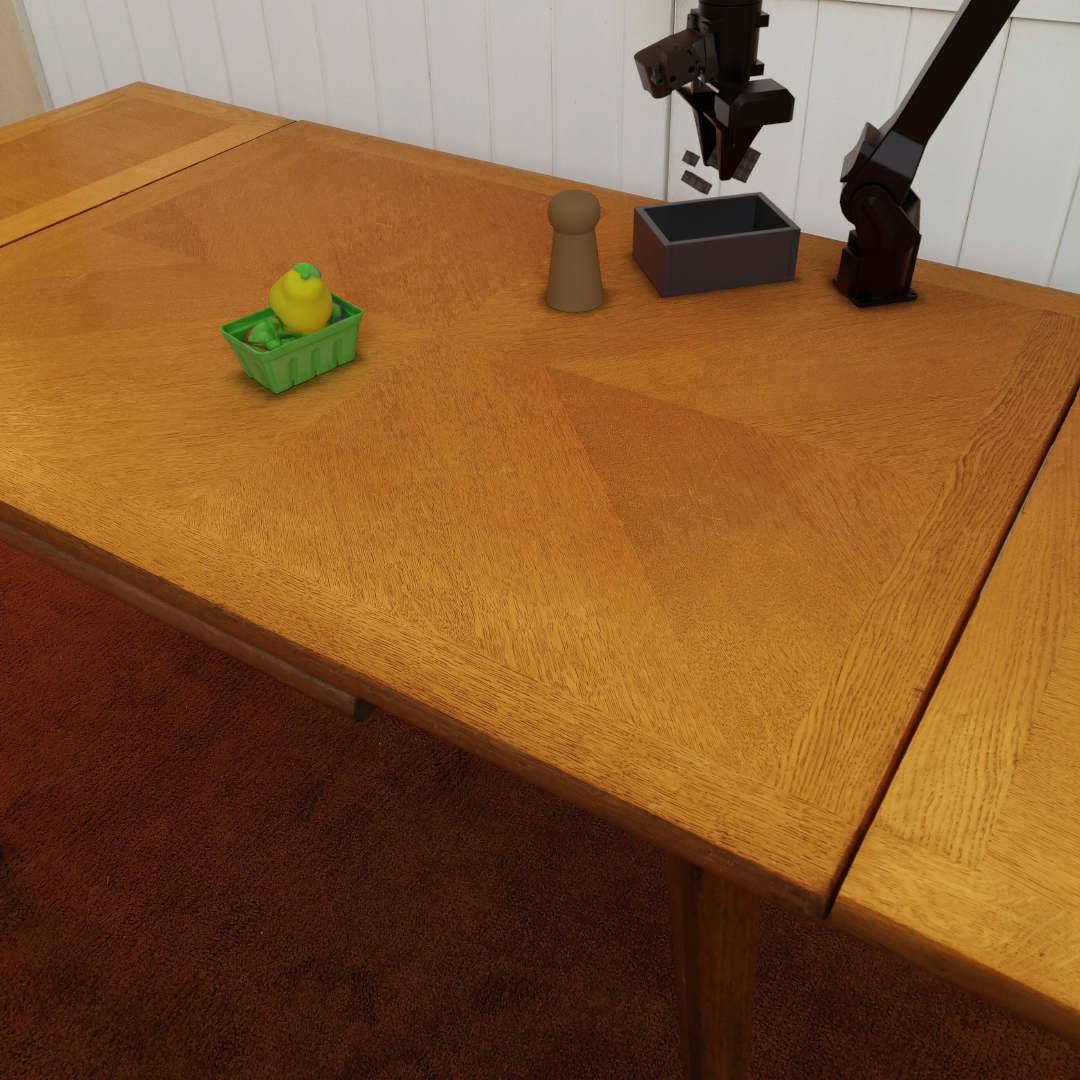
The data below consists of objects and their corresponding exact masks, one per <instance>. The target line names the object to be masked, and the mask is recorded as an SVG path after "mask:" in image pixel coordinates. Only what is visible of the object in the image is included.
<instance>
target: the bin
mask: <svg viewBox="0 0 1080 1080" xmlns="http://www.w3.org/2000/svg"><path fill="white" fill-rule="evenodd" d="M801 234H802V228H801V227H800V226H799V225H798V224H797V223H795V222H794V221H793V220H792V218H790V217H789V215H788V214H786V213H785V212H784V211H783V210H782V209H781V208H780V207H778V205H776V204H775V203H774V202H773V201H772V200H771V199H770V198H769V197H768V196H767V195H765V194H764V192H762V191H755V192H747V193H738V194H729V195H720V196H713V197H705V198H697V199H688V200H679V201H672V202H671V201H669V202H662V203H654V204H653V203H652V204H647V205H638V206H633V226H632V257H633V258H634V260H635V261H636V263H637V264H638V265H639V267H640V268H641V270H642V272H643V273H644V274H645V276H646V277H647V279H648V280H649V281H650V282H651V284H652V285H653V287H654V288H655V290H656V291H657V292H658V294H659V295H660V297H661V298H669V297H676V296H682V295H692V294H698V293H705V292H712V291H721V290H729V289H735V288H743V287H744V288H745V287H749V286H750V287H751V286H758V285H765V284H773V283H780V282H788V281H794V280H795V276H796V275H795V274H796V269H797V262H798V254H799V248H800V247H799V246H800V239H801Z"/></svg>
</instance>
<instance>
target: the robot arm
mask: <svg viewBox="0 0 1080 1080" xmlns="http://www.w3.org/2000/svg"><path fill="white" fill-rule="evenodd" d="M763 1H764V0H698V2H697V7H696V8H695V7H694V8H690V10H689V13H687V15H686V25H685V26H686V27H685V29H682V30H680V31H678V32H675V33H673V34H672V33H671V34H669V35H668V36H666V37H663V38H662V39H660V40H658V41H656V42H654V43H652V44H650V45H648V46H646V47H644V48H642V49H641V50H639V51H637V52H635V54H634V55H633V60H634V63H635V67H636V69H637V72H638V76H639V79H640V83H641V86H642V89H643V91H645V92H648V93H649V94H650V95H651V97H652V98H653V99H655V100H658V99H659V100H660V99H664V98H666V97H668V96H670V95H672V93H673V91H675V92H676V94H677V95H679V96H680V97H681V98H682V99H683V100H684V101H685V102H686V103H687V104H688V105H689V107H690V108H691V111H692V114H693V118H694V119H693V120H694V123H695V128H696V133H697V134H696V135H697V139H698V143H699V149H700V154H701V160H702V164H703V166H705V167H706V168H708V167H711V166H710V165H708V164H706V163H707V161H708V159H709V157H710V155H711V153H712V151H713V149H714V147H715V145H716V143H717V157H718V170H717V171H718V179H719V181H721V182H725V181H727V182H728V181H731V180H732V179H733V178H732V176H733V175H734V173H735V171H736V169H737V168H738V166H739V164H740V162H741V161H742V159H743V157H744V155H745V154H746V152H747V150H748V149H749V147H751V146H752V143H753V142H754V140H755V139H756V137H757V136H758V134H759V133H760V132H761V130H762V128H763V127H764V126H771V125H779V124H787V123H788V124H789V123H791V122H792V121H793V119H794V113H795V112H794V111H795V103H796V97H795V96H794V95H793V94H792V93H791V91H790V89H788V88H787V87H786V86H784V85H782V84H781V83H779V82H777V80H775V79H773V78H771V77H770V78H763V79H753V80H751V77H760V76H761V77H762V76H764V75H765V65H766V64H765V63H764V62H763V61H761V60H760V59H758V53H759V52H758V51H759V42H760V41H759V40H760V32H761V28H769V26H770V18H771V17H770V14H769V13H768V12H766V11H764V10H762V9H763ZM1020 1H1021V0H963V1H962V3H961V4H960V7H959V8H958V9H957V11H956V12H955V14H954V16H953V18H952V19H951V21H950V22H949V24H948V26H947V27H946V28H945V30H944V32H943V34H942V35H941V36H940V39H939V40H938V42H937V44H936V45H935V47H934V48H933V50H932V52H931V53H930V55H929V57H928V58H927V60H926V62H925V63H924V65H923V67H922V68H921V70H920V71H919V73H918V74H917V76H916V78H915V79H914V81H913V82H912V84H911V86H910V88H909V89H908V91H907V93H906V94H905V95H904V97H903V99H902V100H901V102H900V104H899V105H898V107H897V109H896V110H895V112H894V113H893V114H892V115H891V116H890V117H889V118H888V119H887V120H886V121H885V122H884V123H883V124H882V125H881V126H880V127H879V128H877V126H875V125H874V124H872V123H870V122H869V121H866V122H865V124H864V126H863V128H862V129H861V130H862V131H861V133H860V135H859V138H858V140H857V142H856V144H855V145H854V147H853V148H852V149H851V150H850V151H849V152H848V153H847V154H846V155H844V157H843V162H842V167H841V172H840V176H839V183H841V184H842V185H841V192H840V194H839V195H840V196H839V207H840V211H841V213H842V215H843V217H844V218H845V219H846V221H848V223H850V224H851V225H853V226H854V229H849V232H848V236H847V243H846V245H844V246H843V247H842V249H841V255H840V261H839V266H838V270H837V271H838V272H837V275H834V276H833V277H832V282H833V284H834V285H836V286H837V288H839V289H840V291H842V292H843V293H844V294H845V296H847V297H848V299H850V300H851V301H852V303H854V304H855V305H856V306H858V307H860V308H867V307H875V306H883V305H888V304H889V305H890V304H895V303H896V304H897V303H903V302H910V301H916V300H918V297H919V293H918V292H917V291H915V289H913V288H912V287H911V286H912V282H913V278H914V273H915V269H916V264H917V260H918V255H919V251H920V247H921V242H922V238H923V235H922V234H921V231H920V230H921V202H922V200H921V198H920V196H919V195H917V193H916V192H915V191H914V190H913V188H912V184H913V183H914V180H915V177H916V176H917V175H916V174H917V172H918V169H919V167H920V164H921V161H922V158H923V156H924V153H925V150H926V147H927V145H928V143H929V141H930V139H931V138H932V137H933V135H934V134H935V132H936V131H937V129H938V127H939V126H940V125H941V123H942V121H943V120H944V118H945V117H946V115H947V113H948V112H949V110H950V109H951V107H952V106H953V104H954V103H955V101H956V99H957V98H958V97H959V95H960V94H961V92H962V90H963V89H964V88H965V86H966V84H967V83H968V81H969V80H970V78H971V77H972V75H973V74H974V72H975V70H976V69H977V68H978V66H979V65H980V63H981V62H982V60H983V58H984V57H985V55H986V53H987V52H988V51H989V50H990V47H991V46H992V44H993V43H994V41H995V40H996V38H997V37H998V35H999V34H1000V32H1001V31H1002V29H1003V28H1004V26H1005V24H1006V23H1007V21H1008V20H1009V18H1010V17H1011V15H1012V13H1013V12H1014V11H1015V9H1016V8H1017V6H1018V4H1019V3H1020Z"/></svg>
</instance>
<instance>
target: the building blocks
mask: <svg viewBox="0 0 1080 1080" xmlns="http://www.w3.org/2000/svg"><path fill="white" fill-rule="evenodd" d="M761 155H762V152H760V151H758V150H756V149H755V148H754V147H752V146H750V147H749V149H748V150H747V152H746V154H745V155H744V157H743V159H742V161H741V162H740V164H739V166H738V168H737V169H736V171H735V173H734V175H733V176H732V178H731V179H734V180H736V181H737V182H741V183H743V184H746V183H747V181H748V179H749V178H750V176H751V174H752V172H753V171H754V168H755V166H756V164H757V163H758V161H759V159H760V157H761ZM700 159H701V156H700V155H699V154H697V153H695V152H693V151H690V150H688V149H685V152H684V154H683V157H682V158H681V161H682V162H683V163H685V164H687V165H688V166H691V167H694V168H696V167H697V164H698V162H699V161H700ZM706 164H708V165H710V166H709V167H711V168H713V169H715V170H716V171H718V157H717V143H716V145H715V147H714V149H713V151H712V153H711V155H710V157H709V159H708V161H707V163H706ZM680 181H682V182H683V183H685V184H686V185H688V186H689V187H691V188H693V189H695V190H696V191H698V192H699V193H701V194H703V195H706V196H708V195H709V193H710V191H711V189H712V188H713V184H712V183H711V182H709V181H707V180H705V179H704V178H702V177H700V176H699V175H697V174H696V173H695V172H692V171H690V170H687V169H685V170H684V171H683V174H682V176H681V178H680Z"/></svg>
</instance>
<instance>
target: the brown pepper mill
mask: <svg viewBox="0 0 1080 1080" xmlns="http://www.w3.org/2000/svg"><path fill="white" fill-rule="evenodd" d="M600 218H601V203H600V200H599V199H598V198H597V196H596V195H595V194H594V193H592V192H590V191H588V190H585V189H579V188H578V189H577V188H575V189H574V188H573V189H564V190H562V191H559V192H557V193H556V194H554V195H553V196H552V197H551V199H549V202H548V206H547V219H548V222H549V224H550V225H551V227H552V229H553V232H552V242H551V251H550V259H549V269H548V277H547V278H548V279H547V286H546V287H547V288H546V297H545V302H546V303H547V305H548V306H549V307H551V308H552V309H554V310H557V311H559V312H566V313H582V312H588V311H591V310H594V309H596V308H598V307H600V306H601V305H602V304H603V302H604V300H605V296H604V289H603V280H602V271H601V265H600V256H599V249H598V242H597V233H596V227H597V225H598V224H599V223H600V220H601V219H600Z"/></svg>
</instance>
